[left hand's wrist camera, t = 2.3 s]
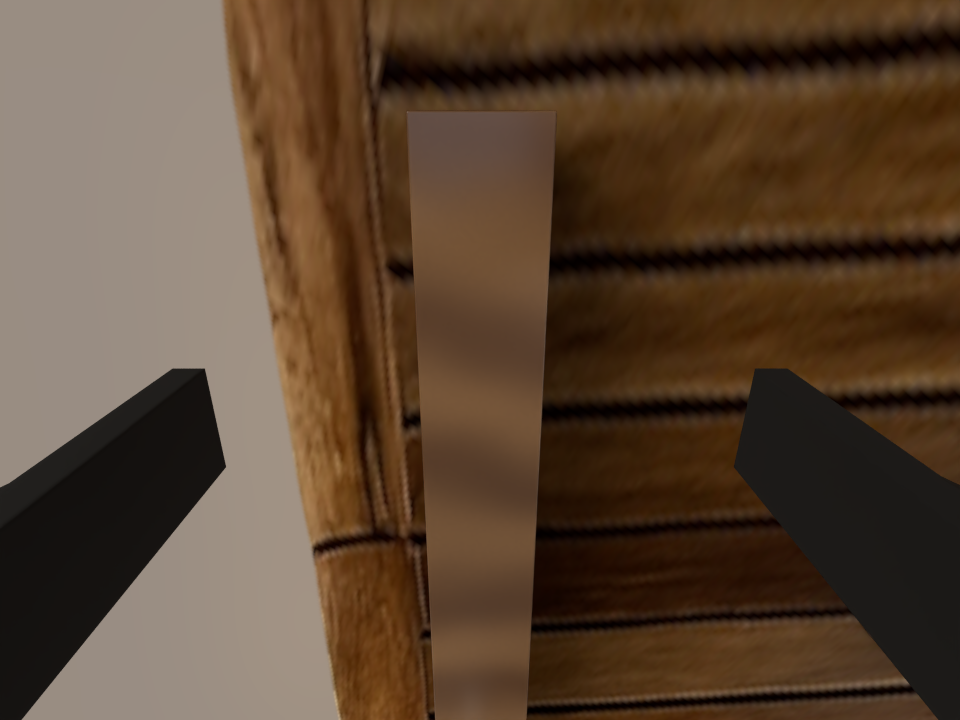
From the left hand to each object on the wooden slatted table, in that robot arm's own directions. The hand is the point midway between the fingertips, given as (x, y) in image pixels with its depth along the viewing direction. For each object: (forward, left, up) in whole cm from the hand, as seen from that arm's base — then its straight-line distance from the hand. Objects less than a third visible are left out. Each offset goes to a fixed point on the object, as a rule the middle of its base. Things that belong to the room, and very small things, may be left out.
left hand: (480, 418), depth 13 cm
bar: (+3, +27, -15) cm, 31 cm away
